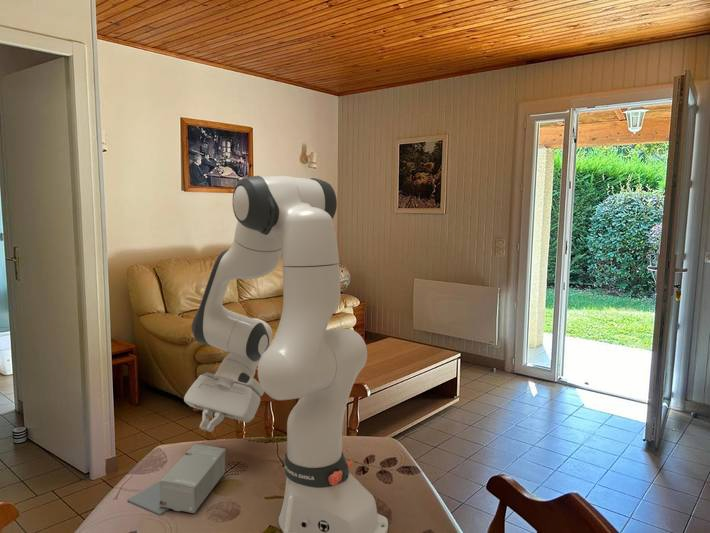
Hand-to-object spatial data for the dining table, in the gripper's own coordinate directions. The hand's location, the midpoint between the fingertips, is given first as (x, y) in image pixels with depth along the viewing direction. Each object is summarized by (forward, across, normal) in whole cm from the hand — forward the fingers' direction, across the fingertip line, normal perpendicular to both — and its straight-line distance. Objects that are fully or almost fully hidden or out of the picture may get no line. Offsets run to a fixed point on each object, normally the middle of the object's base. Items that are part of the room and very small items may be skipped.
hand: (205, 429), depth 125 cm
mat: (+15, 0, 0) cm, 15 cm away
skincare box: (+5, +2, +4) cm, 7 cm away
